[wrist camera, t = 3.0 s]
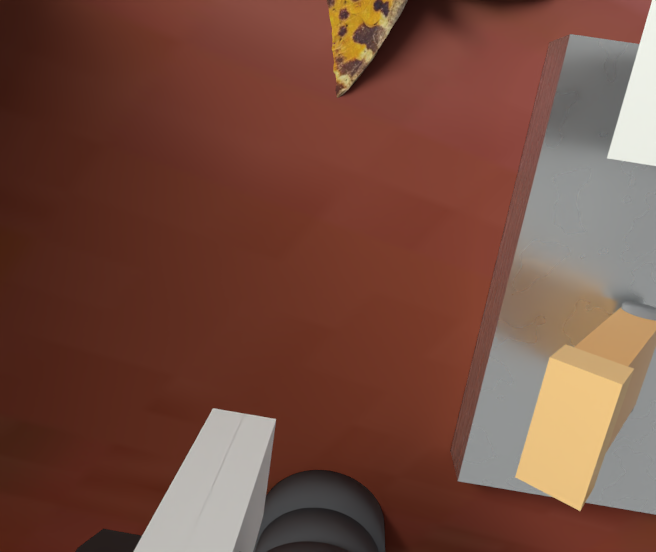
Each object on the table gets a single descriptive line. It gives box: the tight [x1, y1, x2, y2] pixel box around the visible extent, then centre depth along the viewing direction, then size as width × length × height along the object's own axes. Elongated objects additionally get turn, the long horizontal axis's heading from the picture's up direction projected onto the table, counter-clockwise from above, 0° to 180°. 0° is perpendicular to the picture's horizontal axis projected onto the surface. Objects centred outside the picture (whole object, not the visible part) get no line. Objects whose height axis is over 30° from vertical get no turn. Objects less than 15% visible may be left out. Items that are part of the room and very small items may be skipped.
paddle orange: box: [515, 301, 656, 511], centre depth 20 cm, size 2×4×10 cm
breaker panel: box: [450, 34, 656, 514], centre depth 24 cm, size 12×20×3 cm, turn 172°
